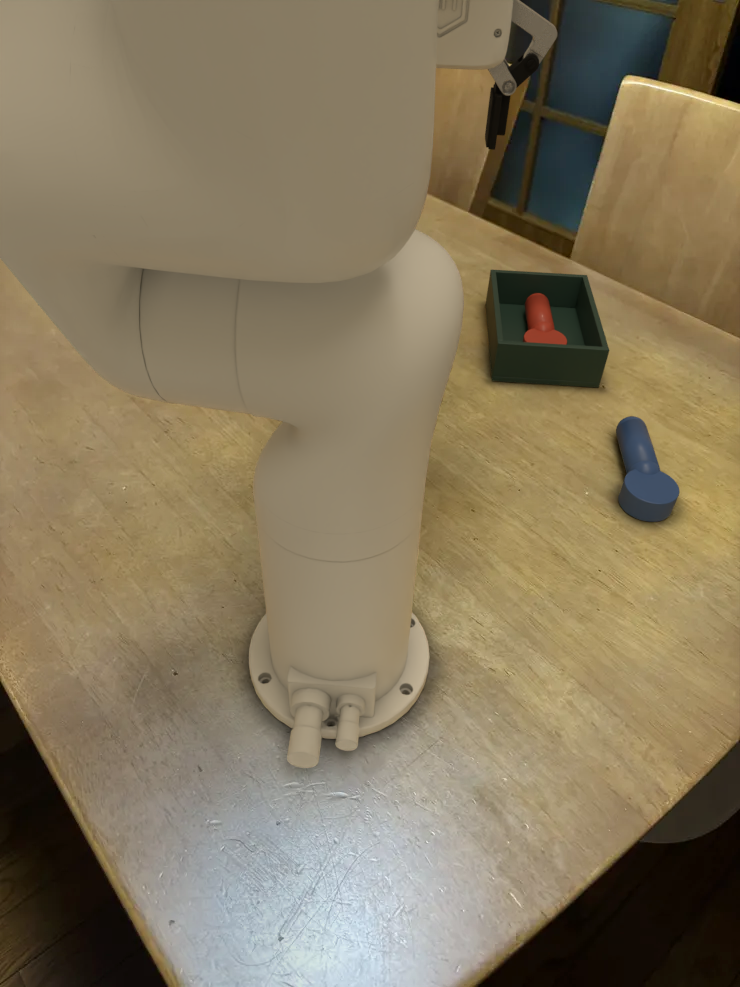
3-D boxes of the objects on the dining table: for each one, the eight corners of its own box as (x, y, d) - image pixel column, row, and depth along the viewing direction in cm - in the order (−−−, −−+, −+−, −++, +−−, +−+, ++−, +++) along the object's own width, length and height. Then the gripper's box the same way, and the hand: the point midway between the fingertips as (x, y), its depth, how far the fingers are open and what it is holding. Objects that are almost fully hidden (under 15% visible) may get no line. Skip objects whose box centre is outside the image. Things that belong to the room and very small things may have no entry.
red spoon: (514, 309, 89) (518, 287, 87) (553, 311, 89) (557, 289, 87) (522, 366, 80) (526, 343, 78) (565, 369, 80) (571, 346, 78)
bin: (598, 388, 79) (609, 350, 75) (491, 381, 79) (497, 343, 76) (578, 310, 90) (587, 274, 87) (485, 304, 91) (490, 269, 88)
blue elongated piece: (601, 431, 73) (608, 408, 71) (648, 435, 73) (657, 411, 71) (622, 520, 64) (631, 496, 62) (677, 524, 64) (687, 500, 62)
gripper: (314, -133, 47) (319, 151, 59) (592, -122, 47) (541, 163, 58) (328, -140, 53) (330, 120, 64) (576, -130, 52) (533, 131, 64)
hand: (430, 140), depth 61 cm, fingers open, 9 cm apart
